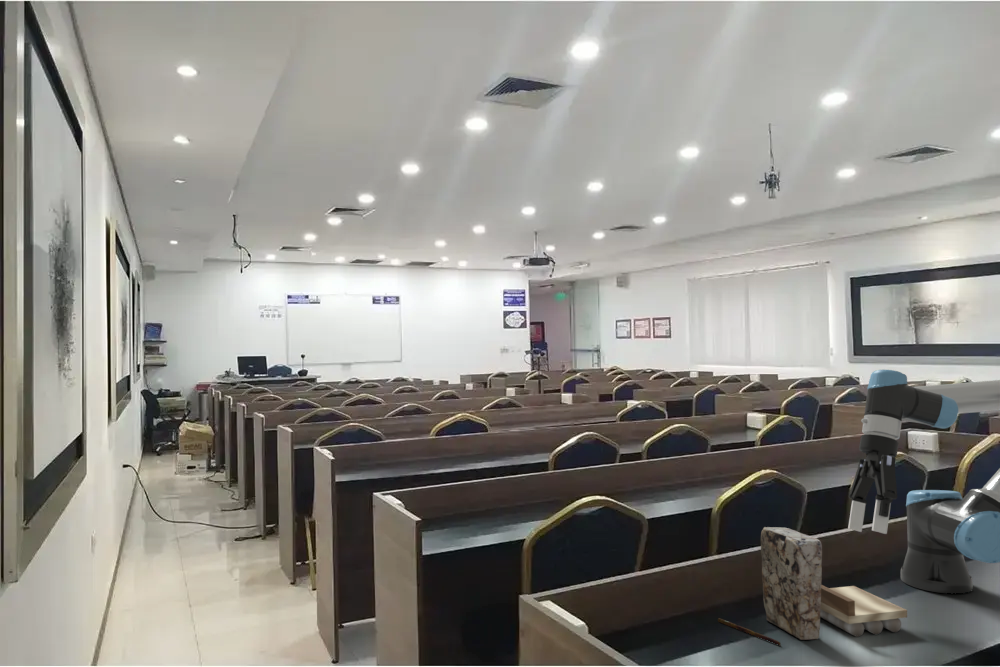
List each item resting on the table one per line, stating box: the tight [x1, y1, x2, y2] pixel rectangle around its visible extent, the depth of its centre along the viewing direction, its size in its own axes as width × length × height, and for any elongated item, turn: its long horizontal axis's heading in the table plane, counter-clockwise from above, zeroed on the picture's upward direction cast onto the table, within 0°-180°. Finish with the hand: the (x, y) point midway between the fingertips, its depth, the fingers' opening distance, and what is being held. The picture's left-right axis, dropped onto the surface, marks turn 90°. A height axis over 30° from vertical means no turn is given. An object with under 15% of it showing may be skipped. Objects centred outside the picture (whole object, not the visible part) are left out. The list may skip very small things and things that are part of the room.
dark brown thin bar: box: [717, 617, 781, 646], centre depth 140 cm, size 15×1×1 cm, turn 33°
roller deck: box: [820, 584, 908, 638], centre depth 145 cm, size 14×15×8 cm
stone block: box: [760, 526, 823, 641], centre depth 142 cm, size 13×7×20 cm, turn 19°
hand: (866, 531), depth 149 cm, fingers open, 13 cm apart
